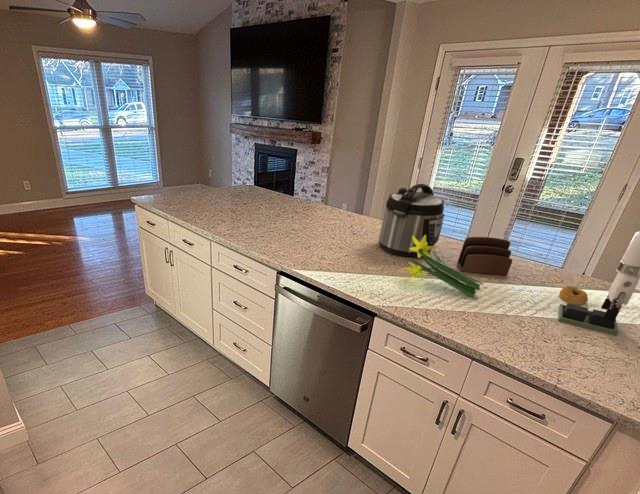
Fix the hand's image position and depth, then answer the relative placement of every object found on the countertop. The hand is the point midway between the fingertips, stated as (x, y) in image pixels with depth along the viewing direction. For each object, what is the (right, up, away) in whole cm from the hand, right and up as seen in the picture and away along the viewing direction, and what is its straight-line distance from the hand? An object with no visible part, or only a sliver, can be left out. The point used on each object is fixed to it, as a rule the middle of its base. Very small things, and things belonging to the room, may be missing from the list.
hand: (607, 314), depth 148 cm
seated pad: (-8, -1, +6) cm, 10 cm away
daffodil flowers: (-48, +15, +28) cm, 58 cm away
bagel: (+3, +7, +20) cm, 22 cm away
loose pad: (-1, -3, +3) cm, 4 cm away
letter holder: (-21, +25, +45) cm, 55 cm away
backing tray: (-4, -2, +5) cm, 7 cm away
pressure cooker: (-49, +39, +64) cm, 90 cm away
